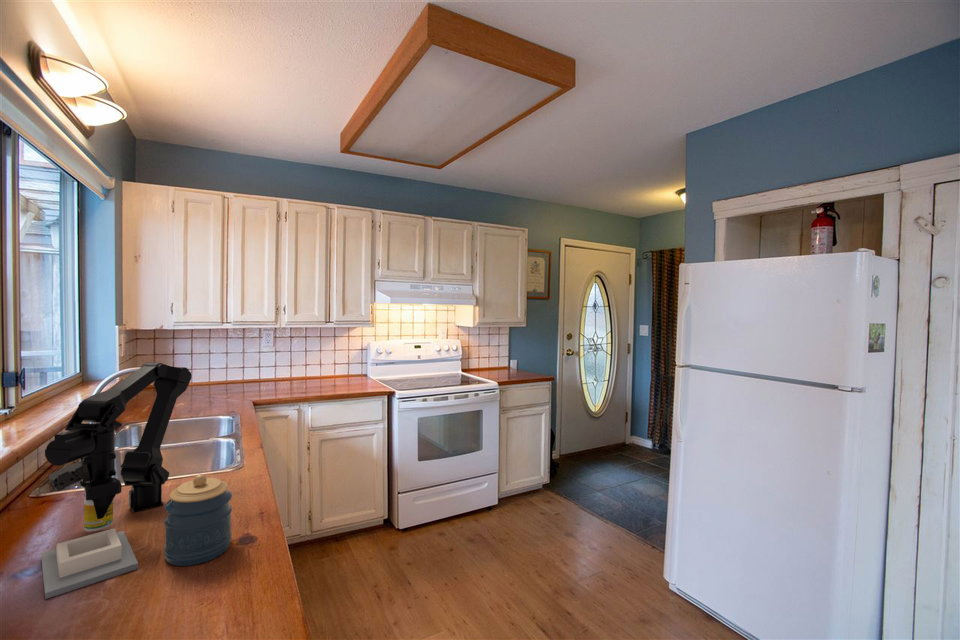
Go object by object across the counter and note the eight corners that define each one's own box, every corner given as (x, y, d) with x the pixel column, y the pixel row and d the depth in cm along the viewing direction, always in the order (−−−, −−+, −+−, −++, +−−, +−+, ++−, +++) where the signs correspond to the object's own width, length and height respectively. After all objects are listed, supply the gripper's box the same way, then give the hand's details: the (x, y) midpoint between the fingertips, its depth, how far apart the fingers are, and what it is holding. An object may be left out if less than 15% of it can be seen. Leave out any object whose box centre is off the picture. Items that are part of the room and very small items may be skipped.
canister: (222, 530, 110) (223, 460, 109) (238, 552, 100) (240, 476, 100) (159, 549, 101) (159, 473, 100) (170, 575, 91) (171, 492, 91)
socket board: (123, 535, 105) (123, 518, 105) (137, 568, 93) (138, 549, 93) (41, 558, 95) (41, 539, 95) (45, 599, 83) (45, 577, 83)
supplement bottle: (88, 523, 107) (88, 484, 107) (116, 519, 109) (116, 481, 109) (80, 534, 102) (80, 493, 102) (109, 529, 105) (109, 490, 104)
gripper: (49, 447, 106) (49, 511, 106) (54, 469, 93) (54, 541, 93) (109, 438, 114) (109, 497, 114) (122, 457, 101) (121, 524, 102)
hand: (98, 514), depth 106 cm, fingers closed on supplement bottle, 5 cm apart
